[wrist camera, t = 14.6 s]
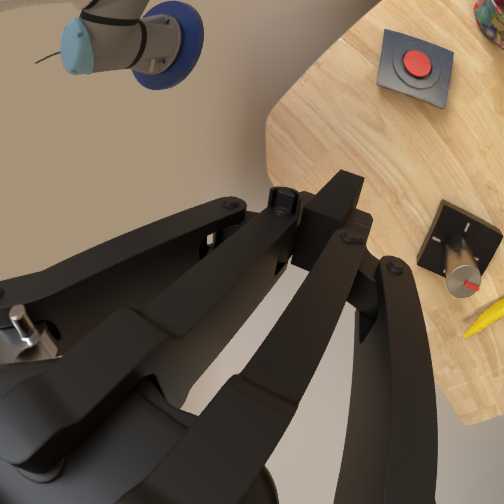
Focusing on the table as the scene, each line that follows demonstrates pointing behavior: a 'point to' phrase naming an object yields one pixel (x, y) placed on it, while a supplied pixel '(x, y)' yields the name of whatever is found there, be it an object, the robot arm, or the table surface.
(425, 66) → the stop button
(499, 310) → the banana
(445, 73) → the control block
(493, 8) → the mug
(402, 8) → the table surface
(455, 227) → the stove panel
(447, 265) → the stove knob
